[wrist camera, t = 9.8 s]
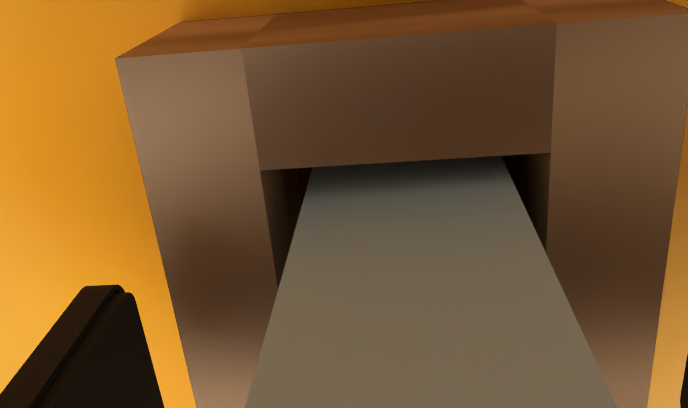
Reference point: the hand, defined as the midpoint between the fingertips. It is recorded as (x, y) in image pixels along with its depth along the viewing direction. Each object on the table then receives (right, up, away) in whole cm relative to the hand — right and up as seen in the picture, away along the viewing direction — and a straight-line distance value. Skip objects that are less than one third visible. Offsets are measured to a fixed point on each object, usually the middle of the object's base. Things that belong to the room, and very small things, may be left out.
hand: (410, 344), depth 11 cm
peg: (+1, +2, +6) cm, 6 cm away
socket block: (0, +2, +6) cm, 6 cm away
